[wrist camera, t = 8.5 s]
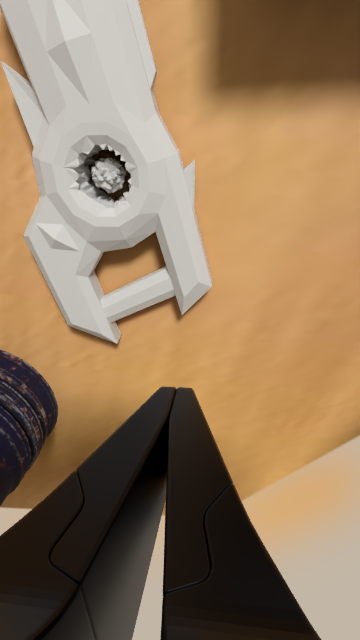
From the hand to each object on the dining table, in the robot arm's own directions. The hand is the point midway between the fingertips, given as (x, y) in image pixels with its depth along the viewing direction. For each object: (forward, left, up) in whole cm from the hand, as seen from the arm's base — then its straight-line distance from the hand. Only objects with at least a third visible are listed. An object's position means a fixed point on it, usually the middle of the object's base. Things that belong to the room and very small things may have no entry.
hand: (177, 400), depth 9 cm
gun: (+5, -5, -13) cm, 14 cm away
